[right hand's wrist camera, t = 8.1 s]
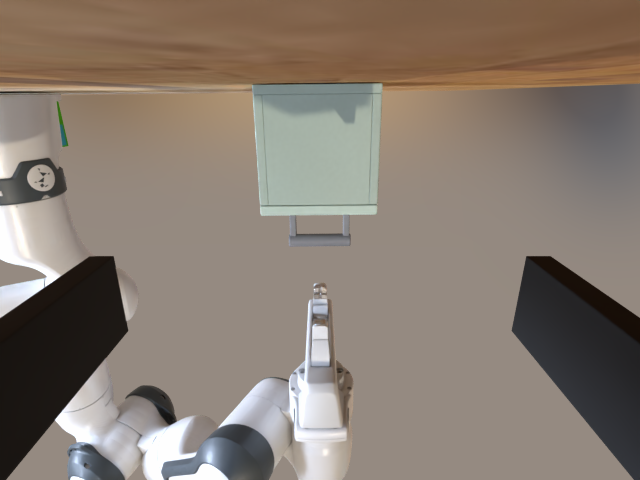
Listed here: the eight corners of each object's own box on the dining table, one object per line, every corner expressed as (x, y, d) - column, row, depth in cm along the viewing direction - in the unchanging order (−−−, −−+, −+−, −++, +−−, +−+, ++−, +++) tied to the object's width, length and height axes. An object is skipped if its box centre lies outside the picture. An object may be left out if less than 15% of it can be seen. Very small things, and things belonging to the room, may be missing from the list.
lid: (361, 174, 46) (359, 239, 49) (276, 175, 46) (279, 239, 49) (377, 205, 33) (374, 290, 36) (260, 206, 33) (265, 291, 36)
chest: (364, 86, 42) (362, 175, 45) (271, 87, 42) (276, 176, 45) (382, 83, 30) (377, 204, 33) (251, 84, 30) (260, 205, 33)
